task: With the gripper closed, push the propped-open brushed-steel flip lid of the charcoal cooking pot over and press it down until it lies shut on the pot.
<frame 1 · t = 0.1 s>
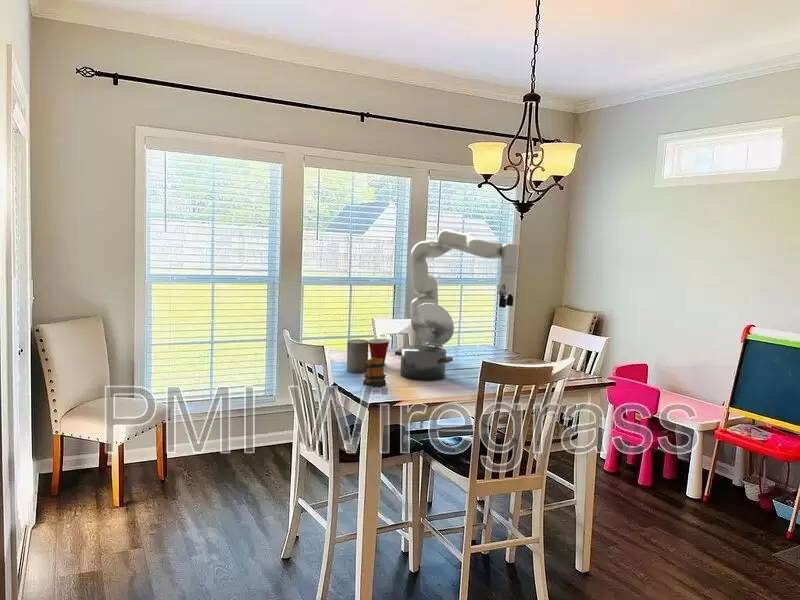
hand: (505, 306, 295), 31 cm above the table, tool pointing down, fingers open, 9 cm apart
pot: (422, 375, 281), on the table
lid: (433, 324, 286), point 23 cm above the table, hinge at 70.0°
pillar candle: (356, 371, 285), on the table
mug: (373, 385, 260), on the table
plastic cup: (377, 364, 301), on the table
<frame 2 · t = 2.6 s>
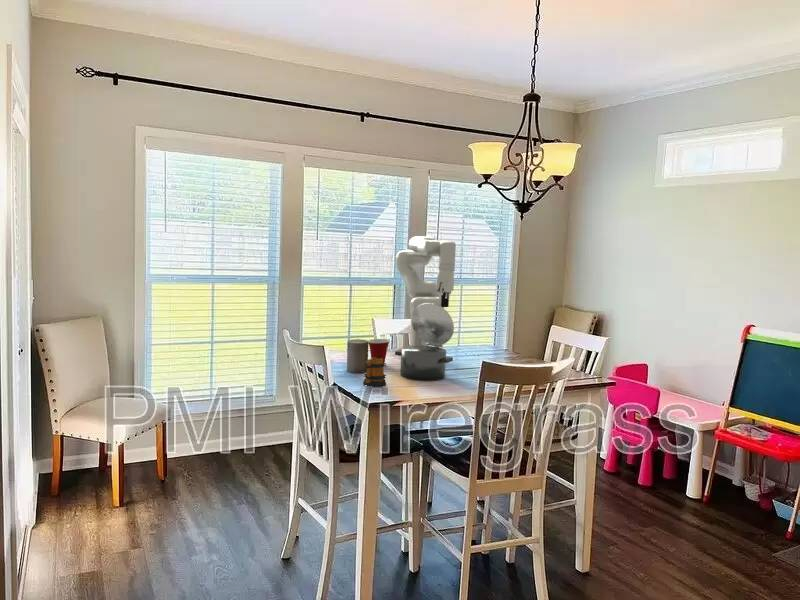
hand: (444, 306, 294), 30 cm above the table, tool pointing down, fingers closed
nothing on the table moved.
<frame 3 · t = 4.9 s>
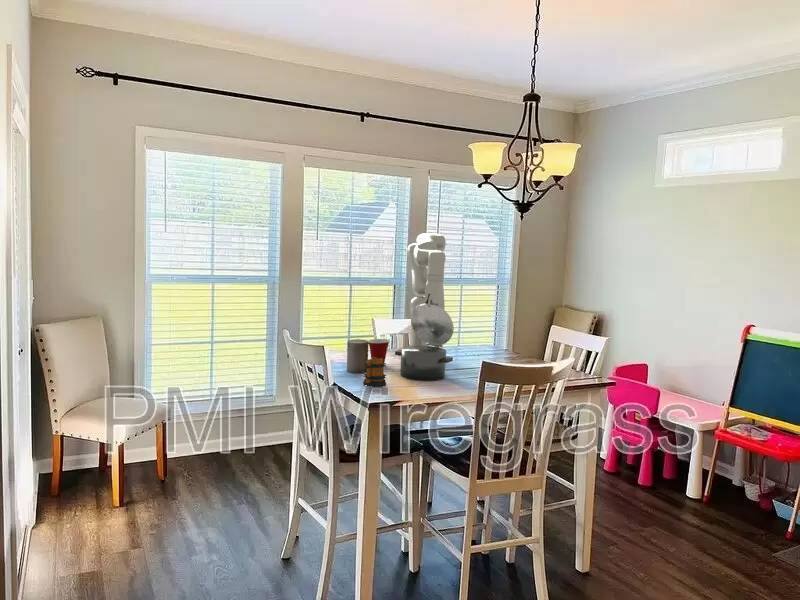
hand: (433, 318, 285), 25 cm above the table, tool pointing down, fingers closed
lid: (432, 324, 285), point 23 cm above the table, hinge at 68.0°, touching gripper
everything else where it was.
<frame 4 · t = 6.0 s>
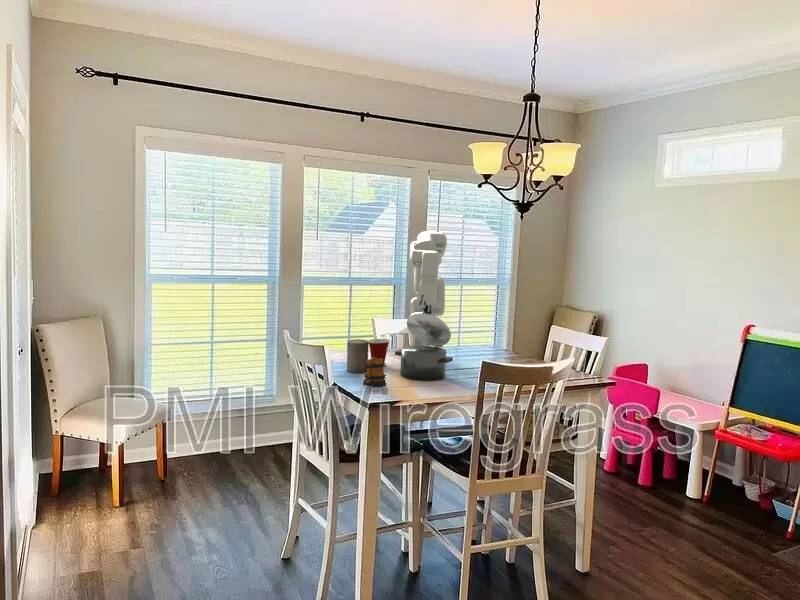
hand: (426, 320, 280), 25 cm above the table, tool pointing down, fingers closed
lid: (429, 328, 283), point 21 cm above the table, hinge at 48.7°, touching gripper
everything else where it was.
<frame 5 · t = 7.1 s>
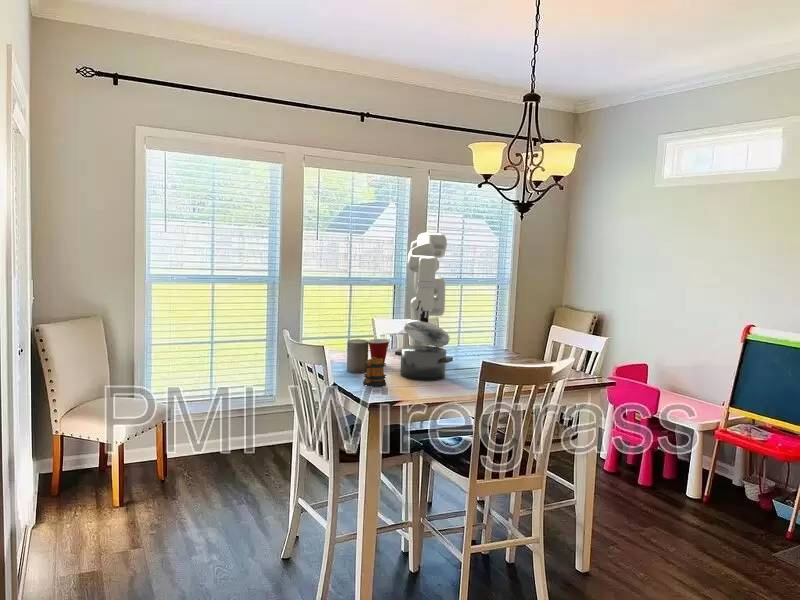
hand: (423, 326, 278), 23 cm above the table, tool pointing down, fingers closed
lid: (427, 332, 282), point 19 cm above the table, hinge at 36.0°, touching gripper
everything else where it was.
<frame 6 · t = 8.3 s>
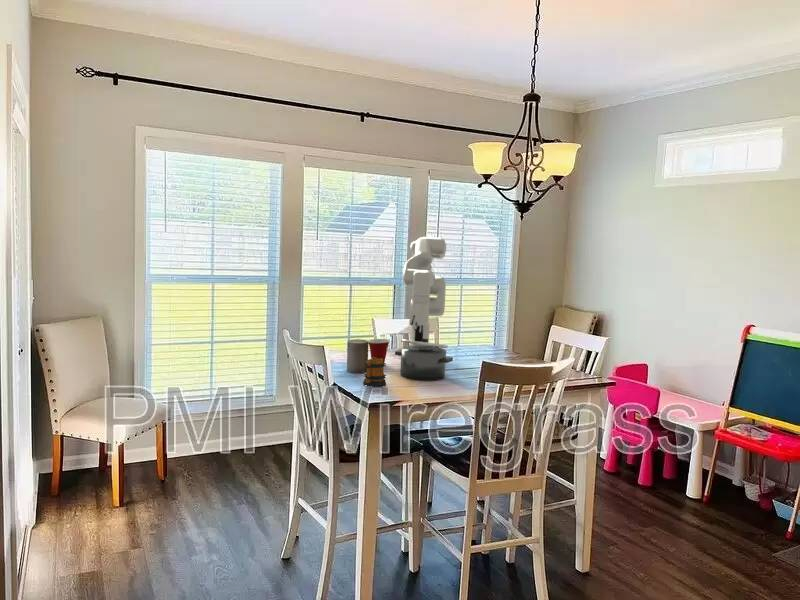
hand: (418, 341, 274), 17 cm above the table, tool pointing down, fingers closed
lid: (425, 341, 280), point 15 cm above the table, hinge at 10.6°, touching gripper
everything else where it was.
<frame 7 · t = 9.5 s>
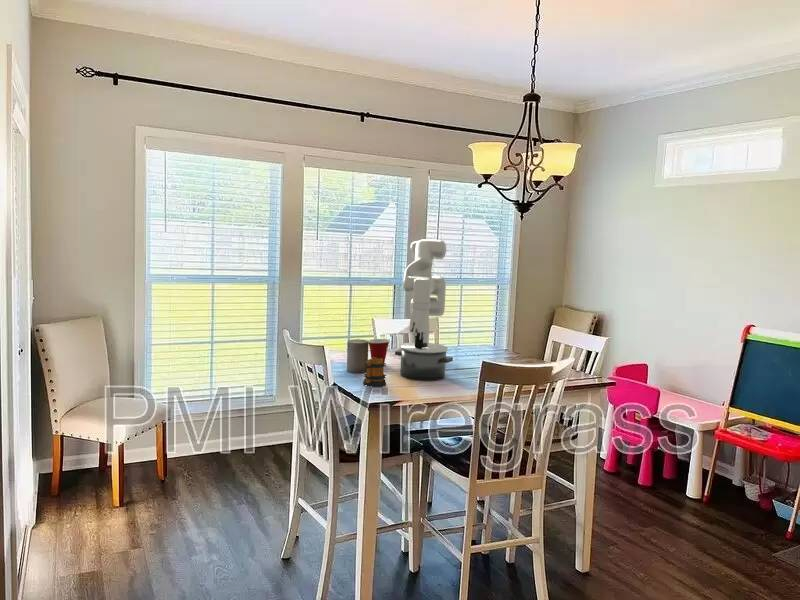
hand: (418, 347, 275), 13 cm above the table, tool pointing down, fingers closed
lid: (424, 345, 280), point 14 cm above the table, hinge at 0.5°, touching gripper
everything else where it was.
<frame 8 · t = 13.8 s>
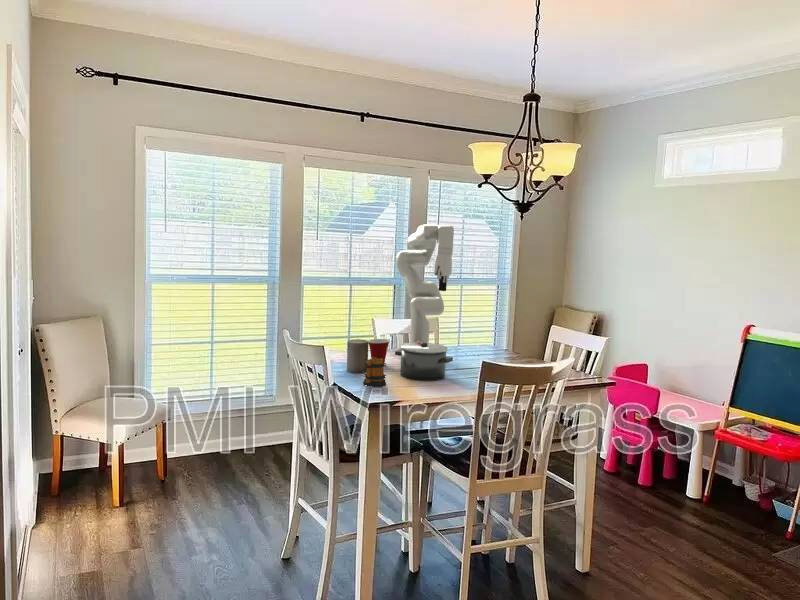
hand: (442, 290, 296), 37 cm above the table, tool pointing down, fingers closed
lid: (424, 345, 280), point 14 cm above the table, hinge at 0.3°
everything else where it was.
at the end: lid at +0° (first picture: +70°); the gripper is holding nothing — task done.
